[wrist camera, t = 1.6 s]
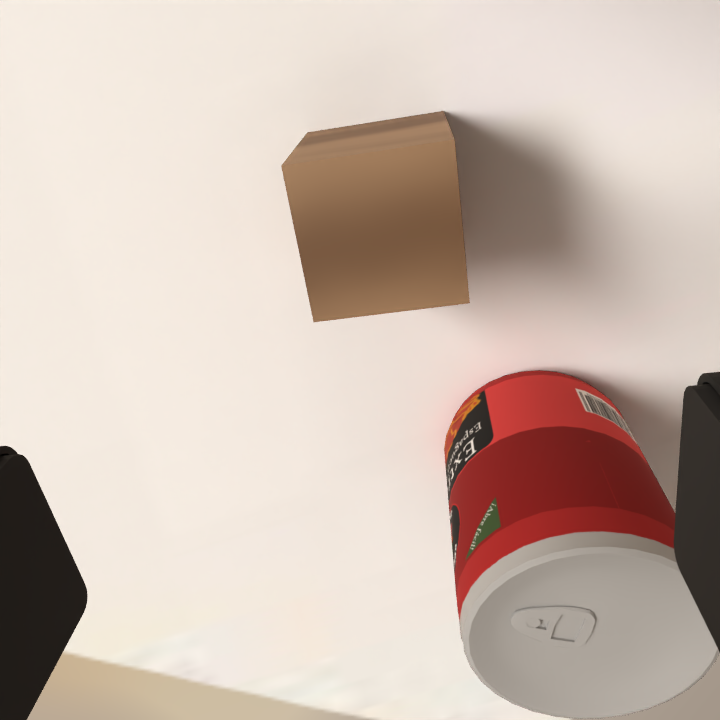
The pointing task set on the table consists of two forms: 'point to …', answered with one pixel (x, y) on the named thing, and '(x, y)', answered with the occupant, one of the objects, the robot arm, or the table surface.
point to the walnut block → (378, 217)
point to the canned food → (566, 554)
